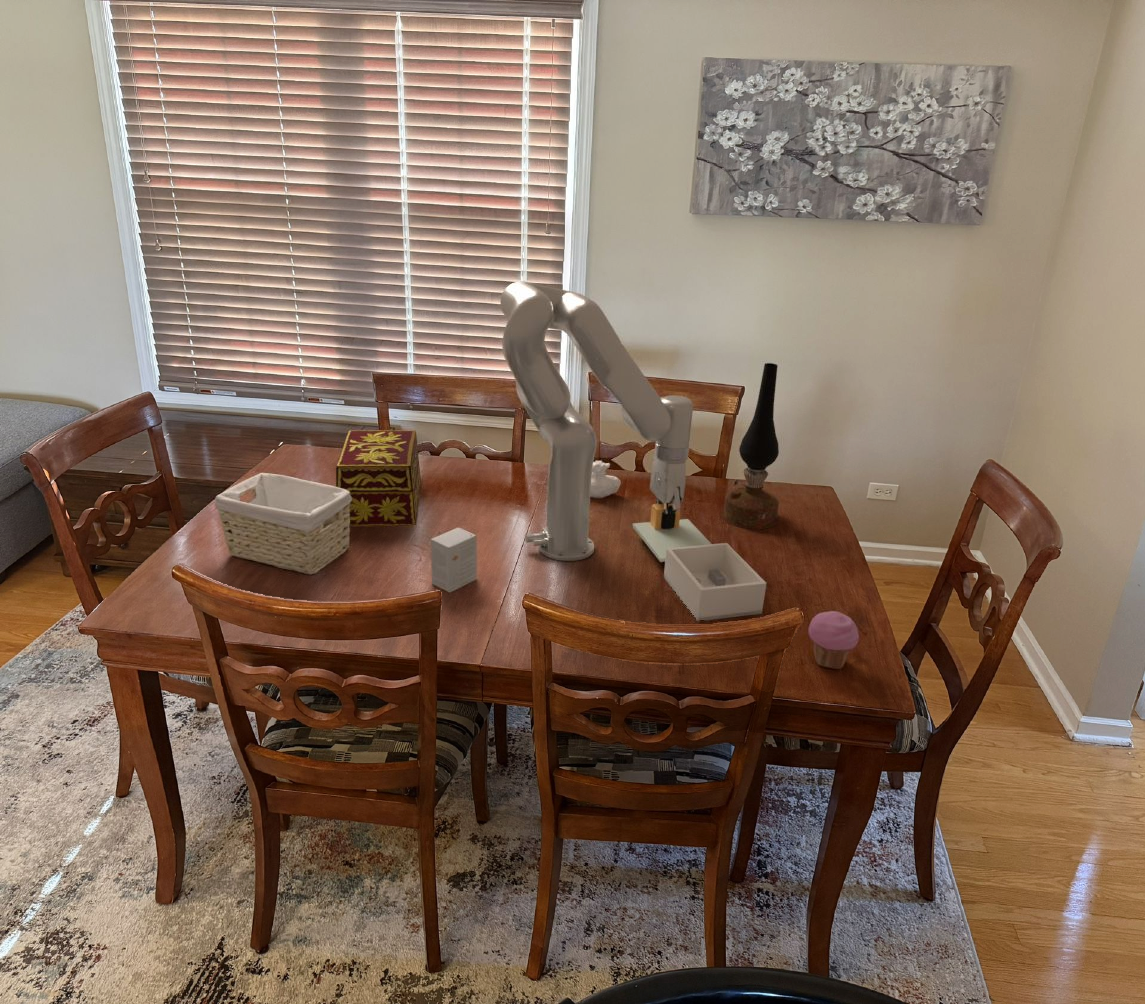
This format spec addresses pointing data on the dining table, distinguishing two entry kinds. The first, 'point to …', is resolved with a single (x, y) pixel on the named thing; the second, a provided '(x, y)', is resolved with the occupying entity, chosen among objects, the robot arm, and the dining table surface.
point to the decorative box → (381, 477)
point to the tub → (714, 581)
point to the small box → (454, 559)
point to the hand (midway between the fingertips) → (664, 523)
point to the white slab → (668, 533)
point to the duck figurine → (602, 481)
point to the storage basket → (286, 522)
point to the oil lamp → (757, 463)
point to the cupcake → (832, 638)
